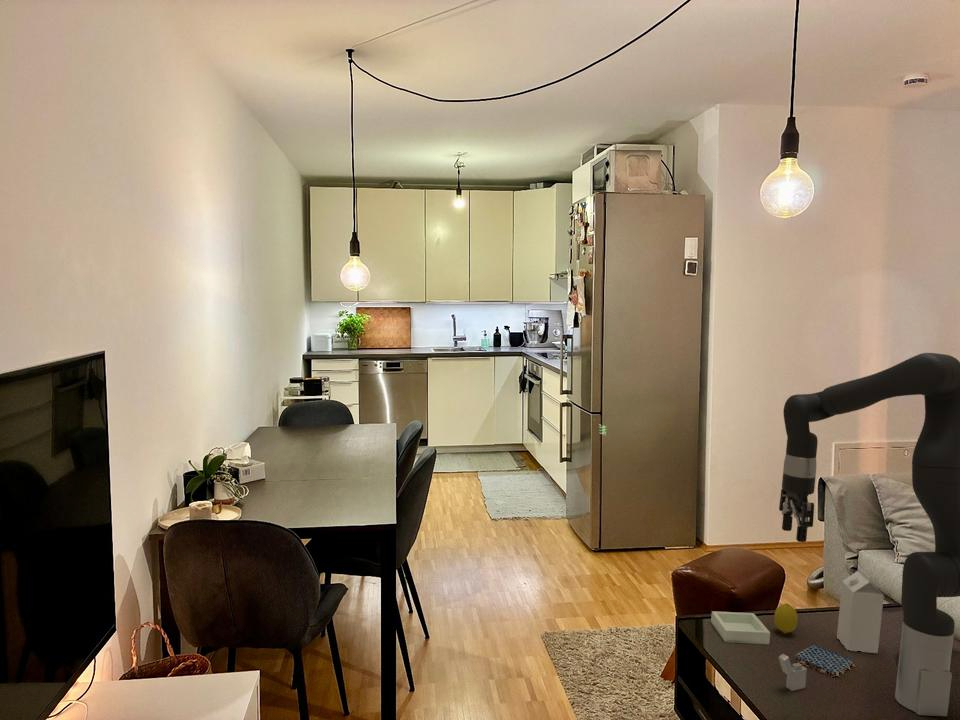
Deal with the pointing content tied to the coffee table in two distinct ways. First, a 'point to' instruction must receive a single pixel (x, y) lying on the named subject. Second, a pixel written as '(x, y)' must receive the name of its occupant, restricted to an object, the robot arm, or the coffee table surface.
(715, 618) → the tray
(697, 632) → the coffee table surface
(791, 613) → the lemon
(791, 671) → the lighter
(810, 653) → the woven mat
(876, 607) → the milk carton
